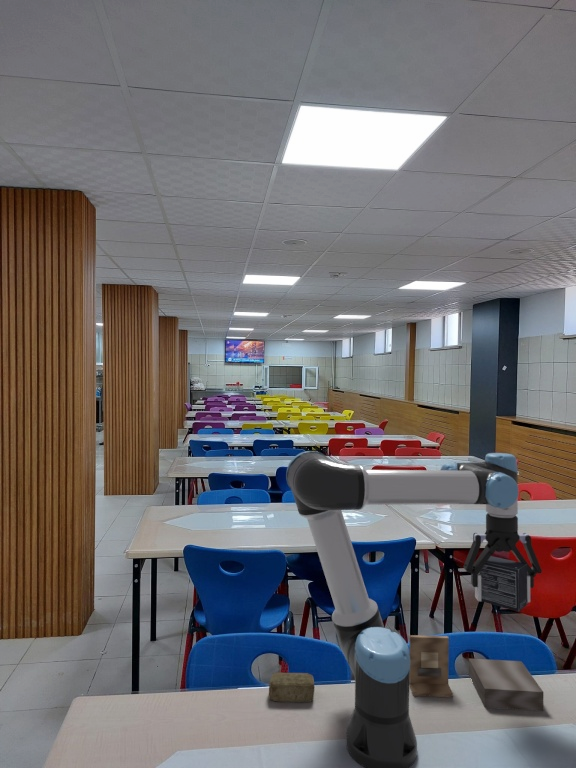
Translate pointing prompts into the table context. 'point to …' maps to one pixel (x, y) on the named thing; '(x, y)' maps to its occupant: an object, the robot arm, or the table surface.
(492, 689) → the base block
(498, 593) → the small box
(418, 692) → the stand
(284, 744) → the table surface
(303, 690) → the stone block
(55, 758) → the table surface
